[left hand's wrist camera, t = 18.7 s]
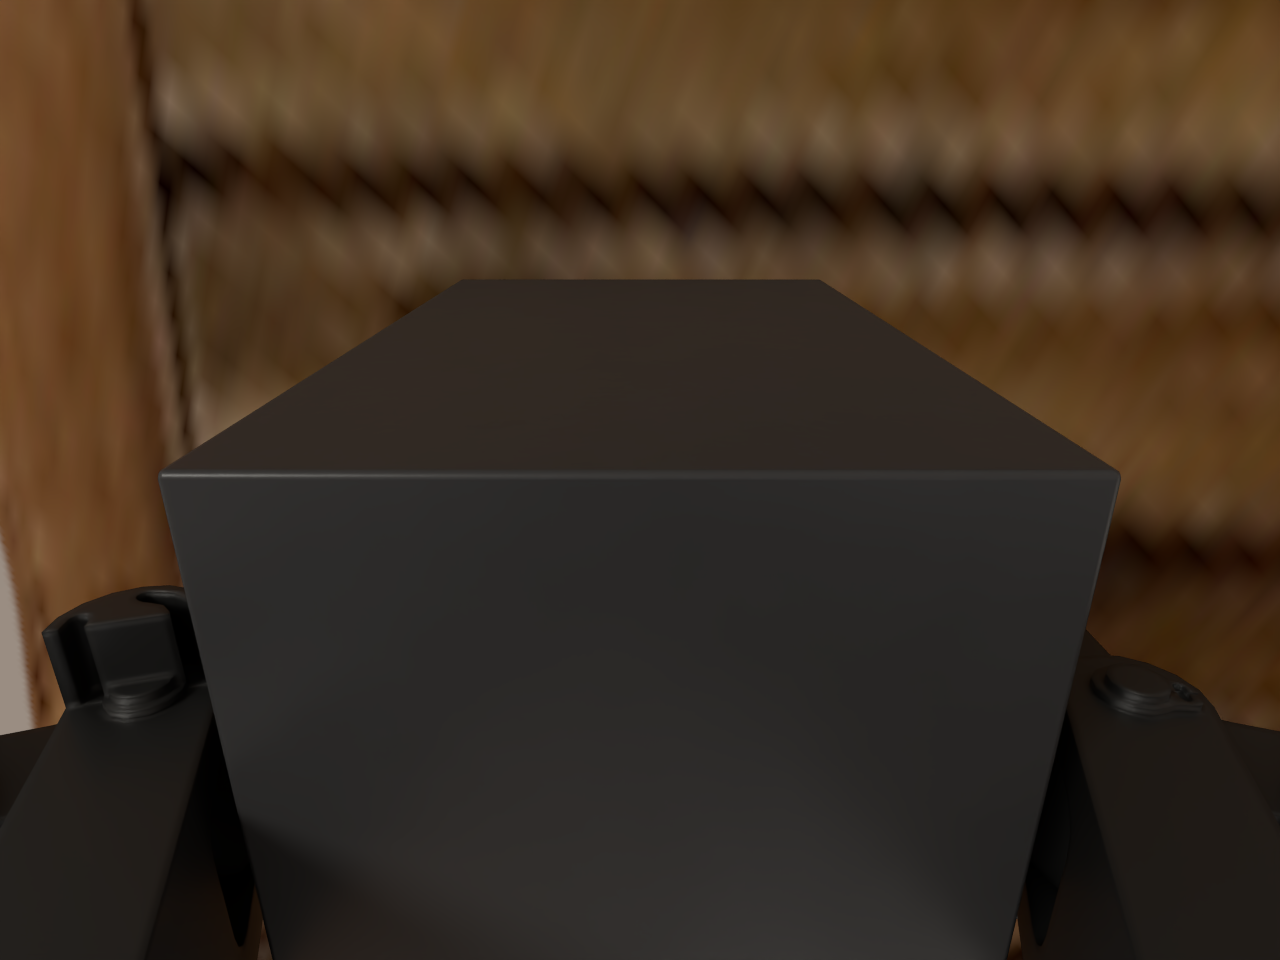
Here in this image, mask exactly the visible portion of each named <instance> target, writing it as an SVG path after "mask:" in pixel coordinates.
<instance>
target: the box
mask: <svg viewBox="0 0 1280 960" xmlns="http://www.w3.org/2000/svg"><path fill="white" fill-rule="evenodd" d="M158 481H159V485H160V490H161V494H162V498H163V502H164V506H165V510H166V515H167V519H168V523H169V527H170V531H171V536H172V540H173V544H174V548H175V552H176V557H177V561H178V565H179V569H180V573H181V577H182V582H183V586H184V590H185V594H186V598H187V603H188V607H189V611H190V615H191V619H192V624H193V628H194V632H195V636H196V640H197V644H198V649H199V653H200V657H201V661H202V665H203V670H204V674H205V678H206V682H207V686H208V691H209V695H210V699H211V703H212V707H213V711H214V716H215V720H216V724H217V728H218V732H219V737H220V741H221V745H222V749H223V753H224V758H225V762H226V766H227V770H228V774H229V778H230V783H231V787H232V791H233V795H234V799H235V804H236V808H237V812H238V816H239V820H240V825H241V829H242V833H243V837H244V841H245V845H246V850H247V854H248V858H249V862H250V866H251V871H252V875H253V879H254V883H255V887H256V892H257V896H258V900H259V904H260V908H261V912H262V917H263V921H264V925H265V929H266V933H267V938H268V942H269V946H270V950H271V954H272V959H273V960H1007V956H1008V952H1009V948H1010V944H1011V939H1012V935H1013V931H1014V927H1015V923H1016V918H1017V914H1018V910H1019V906H1020V902H1021V897H1022V893H1023V889H1024V885H1025V881H1026V876H1027V872H1028V868H1029V864H1030V860H1031V855H1032V851H1033V847H1034V843H1035V838H1036V834H1037V830H1038V826H1039V822H1040V817H1041V813H1042V809H1043V805H1044V801H1045V796H1046V792H1047V788H1048V784H1049V780H1050V775H1051V771H1052V767H1053V763H1054V759H1055V754H1056V750H1057V746H1058V742H1059V738H1060V733H1061V729H1062V725H1063V721H1064V717H1065V712H1066V708H1067V704H1068V700H1069V696H1070V691H1071V687H1072V683H1073V679H1074V675H1075V670H1076V666H1077V662H1078V658H1079V654H1080V649H1081V645H1082V641H1083V637H1084V632H1085V628H1086V624H1087V620H1088V616H1089V611H1090V607H1091V603H1092V599H1093V595H1094V590H1095V586H1096V582H1097V578H1098V574H1099V569H1100V565H1101V561H1102V557H1103V553H1104V548H1105V544H1106V540H1107V536H1108V532H1109V527H1110V523H1111V519H1112V515H1113V511H1114V506H1115V502H1116V498H1117V494H1118V490H1119V485H1120V481H1121V477H1120V473H1119V471H1117V470H1116V469H1114V468H1113V467H1111V466H1109V465H1108V464H1106V463H1105V462H1103V461H1102V460H1100V459H1099V458H1097V457H1095V456H1094V455H1092V454H1091V453H1089V452H1088V451H1086V450H1085V449H1083V448H1081V447H1080V446H1078V445H1077V444H1075V443H1074V442H1072V441H1070V440H1069V439H1067V438H1066V437H1064V436H1063V435H1061V434H1060V433H1058V432H1056V431H1055V430H1053V429H1052V428H1050V427H1049V426H1047V425H1046V424H1044V423H1042V422H1041V421H1039V420H1038V419H1036V418H1035V417H1033V416H1031V415H1030V414H1028V413H1027V412H1025V411H1024V410H1022V409H1021V408H1019V407H1017V406H1016V405H1014V404H1013V403H1011V402H1010V401H1008V400H1007V399H1005V398H1003V397H1002V396H1000V395H999V394H997V393H996V392H994V391H992V390H991V389H989V388H988V387H986V386H985V385H983V384H982V383H980V382H978V381H977V380H975V379H974V378H972V377H971V376H969V375H968V374H966V373H964V372H963V371H961V370H960V369H958V368H957V367H955V366H953V365H952V364H950V363H949V362H947V361H946V360H944V359H943V358H941V357H939V356H938V355H936V354H935V353H933V352H932V351H930V350H929V349H927V348H925V347H924V346H922V345H921V344H919V343H918V342H916V341H914V340H913V339H911V338H910V337H908V336H907V335H905V334H904V333H902V332H900V331H899V330H897V329H896V328H894V327H893V326H891V325H890V324H888V323H886V322H885V321H883V320H882V319H880V318H879V317H877V316H875V315H874V314H872V313H871V312H869V311H868V310H866V309H865V308H863V307H861V306H860V305H858V304H857V303H855V302H854V301H852V300H851V299H849V298H847V297H846V296H844V295H843V294H841V293H840V292H838V291H836V290H835V289H833V288H832V287H830V286H829V285H827V284H826V283H824V282H822V281H821V280H461V281H459V282H458V283H456V284H454V285H453V286H451V287H450V288H448V289H447V290H445V291H443V292H442V293H440V294H439V295H437V296H435V297H434V298H432V299H431V300H429V301H428V302H426V303H424V304H423V305H421V306H420V307H418V308H417V309H415V310H413V311H412V312H410V313H409V314H407V315H405V316H404V317H402V318H401V319H399V320H398V321H396V322H394V323H393V324H391V325H390V326H388V327H387V328H385V329H383V330H382V331H380V332H379V333H377V334H375V335H374V336H372V337H371V338H369V339H368V340H366V341H364V342H363V343H361V344H360V345H358V346H357V347H355V348H353V349H352V350H350V351H349V352H347V353H345V354H344V355H342V356H341V357H339V358H338V359H336V360H334V361H333V362H331V363H330V364H328V365H327V366H325V367H323V368H322V369H320V370H319V371H317V372H315V373H314V374H312V375H311V376H309V377H308V378H306V379H304V380H303V381H301V382H300V383H298V384H297V385H295V386H293V387H292V388H290V389H289V390H287V391H285V392H284V393H282V394H281V395H279V396H278V397H276V398H274V399H273V400H271V401H270V402H268V403H267V404H265V405H263V406H262V407H260V408H259V409H257V410H255V411H254V412H252V413H251V414H249V415H248V416H246V417H244V418H243V419H241V420H240V421H238V422H237V423H235V424H233V425H232V426H230V427H229V428H227V429H225V430H224V431H222V432H221V433H219V434H218V435H216V436H214V437H213V438H211V439H210V440H208V441H207V442H205V443H203V444H202V445H200V446H199V447H197V448H195V449H194V450H192V451H191V452H189V453H188V454H186V455H184V456H183V457H181V458H180V459H178V460H177V461H175V462H173V463H172V464H170V465H169V466H167V467H165V468H164V469H162V470H161V471H160V472H159V475H158Z"/></svg>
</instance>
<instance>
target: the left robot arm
mask: <svg viewBox="0 0 1280 960" xmlns="http://www.w3.org/2000/svg"><path fill="white" fill-rule="evenodd" d="M42 636H43V639H44V642H45V645H46V648H47V651H48V654H49V657H50V660H51V663H52V666H53V670H54V673H55V676H56V679H57V682H58V685H59V688H60V691H61V694H62V697H63V700H64V703H65V706H66V709H65V711H64V713H63V715H62V716H61V718H60V720H59V722H58V724H56V725H52V726H47V727H41V728H36V729H31V730H26V731H21V732H15V733H10V734H5V735H0V960H257V957H258V950H259V943H260V935H261V928H262V921H263V917H262V912H261V908H260V904H259V900H258V896H257V892H256V887H255V883H254V879H253V875H252V871H251V866H250V862H249V858H248V854H247V850H246V845H245V841H244V837H243V833H242V829H241V825H240V820H239V816H238V812H237V808H236V804H235V799H234V795H233V791H232V787H231V783H230V778H229V774H228V770H227V766H226V762H225V758H224V753H223V749H222V745H221V741H220V737H219V732H218V728H217V724H216V720H215V716H214V711H213V707H212V703H211V699H210V695H209V691H208V686H207V682H206V678H205V674H204V670H203V665H202V661H201V657H200V653H199V649H198V644H197V640H196V636H195V632H194V628H193V624H192V619H191V615H190V611H189V607H188V603H187V598H186V594H185V590H184V588H183V587H177V586H171V585H168V586H149V587H139V588H135V589H130V590H125V591H120V592H115V593H111V594H109V595H106V596H103V597H100V598H97V599H94V600H92V601H89V602H86V603H83V604H81V605H79V606H78V607H76V608H74V609H72V610H70V611H68V612H67V613H65V614H63V615H61V616H59V617H58V618H57V619H55V620H54V621H53V622H52V623H51V624H50V625H49V626H48V627H47V628H46V629H45V630H44V631H43V632H42ZM1016 919H1018V926H1019V933H1020V941H1021V948H1022V955H1023V960H1280V731H1274V730H1269V729H1264V728H1259V727H1253V726H1248V725H1243V724H1238V723H1232V722H1228V721H1224V720H1221V719H1220V717H1219V715H1218V713H1217V711H1216V709H1215V708H1214V706H1213V705H1212V704H1211V703H1210V702H1209V701H1208V700H1207V698H1206V697H1205V696H1204V695H1203V694H1202V693H1201V692H1200V690H1198V689H1197V688H1195V687H1194V686H1192V685H1191V684H1189V683H1187V682H1186V681H1184V680H1183V679H1181V678H1180V677H1178V676H1177V675H1175V674H1172V673H1170V672H1168V671H1165V670H1163V669H1161V668H1158V667H1156V666H1153V665H1151V664H1149V663H1145V662H1141V661H1137V660H1133V659H1129V658H1125V657H1120V656H1111V655H1110V654H1109V653H1108V652H1107V651H1106V650H1105V649H1104V648H1103V647H1102V646H1101V645H1100V644H1099V643H1098V642H1097V641H1096V640H1095V639H1094V638H1093V637H1092V635H1091V634H1090V633H1089V632H1088V631H1087V630H1086V629H1085V632H1084V637H1083V641H1082V645H1081V649H1080V654H1079V658H1078V662H1077V666H1076V670H1075V675H1074V679H1073V683H1072V687H1071V691H1070V696H1069V700H1068V704H1067V708H1066V712H1065V717H1064V721H1063V725H1062V729H1061V733H1060V738H1059V742H1058V746H1057V750H1056V754H1055V759H1054V763H1053V767H1052V771H1051V775H1050V780H1049V784H1048V788H1047V792H1046V796H1045V801H1044V805H1043V809H1042V813H1041V817H1040V822H1039V826H1038V830H1037V834H1036V838H1035V843H1034V847H1033V851H1032V855H1031V860H1030V864H1029V868H1028V872H1027V876H1026V881H1025V885H1024V889H1023V893H1022V897H1021V902H1020V906H1019V910H1018V914H1017V918H1016Z"/></svg>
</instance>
